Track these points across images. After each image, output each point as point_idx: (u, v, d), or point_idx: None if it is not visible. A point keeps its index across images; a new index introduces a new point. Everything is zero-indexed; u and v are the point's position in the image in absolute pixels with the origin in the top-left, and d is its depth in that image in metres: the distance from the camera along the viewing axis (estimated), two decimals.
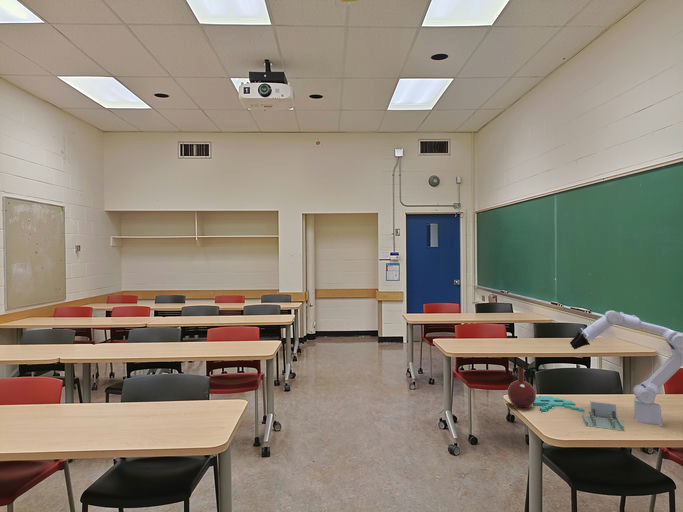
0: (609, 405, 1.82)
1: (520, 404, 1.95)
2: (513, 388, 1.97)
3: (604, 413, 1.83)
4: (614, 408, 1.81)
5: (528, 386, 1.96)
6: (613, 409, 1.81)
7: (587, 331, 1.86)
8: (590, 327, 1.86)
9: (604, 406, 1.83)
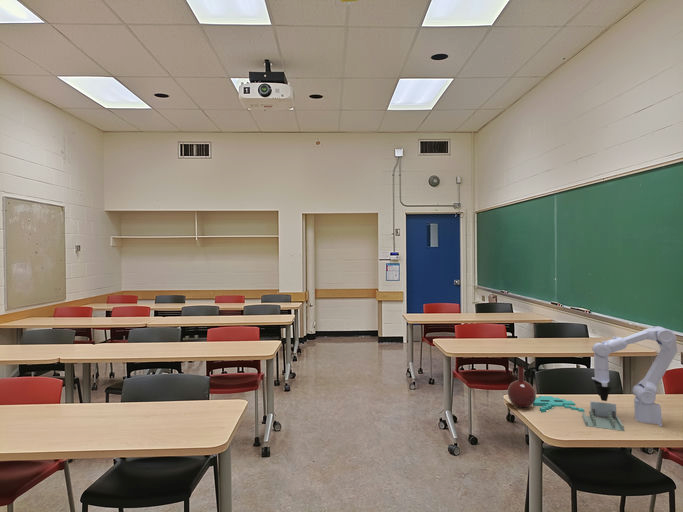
0: (609, 405, 1.82)
1: (520, 404, 1.95)
2: (513, 388, 1.97)
3: (604, 413, 1.83)
4: (614, 408, 1.81)
5: (528, 386, 1.96)
6: (613, 409, 1.81)
7: (598, 377, 1.83)
8: (596, 372, 1.84)
9: (604, 406, 1.83)
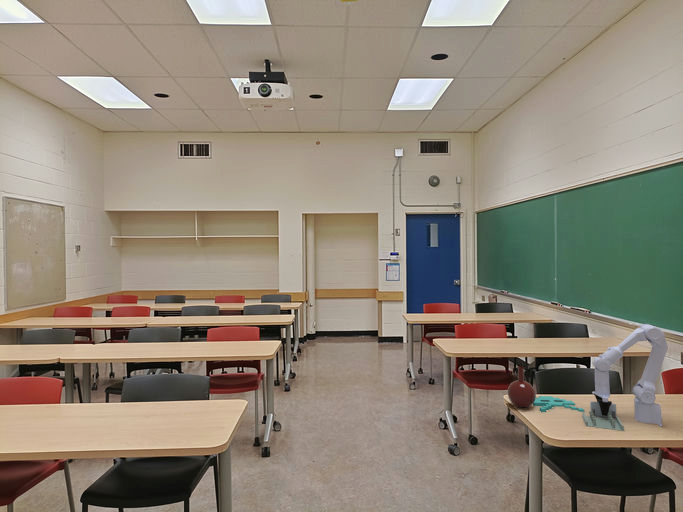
0: None
1: (520, 404, 1.95)
2: (513, 388, 1.97)
3: None
4: (614, 408, 1.81)
5: (528, 386, 1.96)
6: (613, 409, 1.81)
7: (598, 392, 1.83)
8: (597, 386, 1.84)
9: None
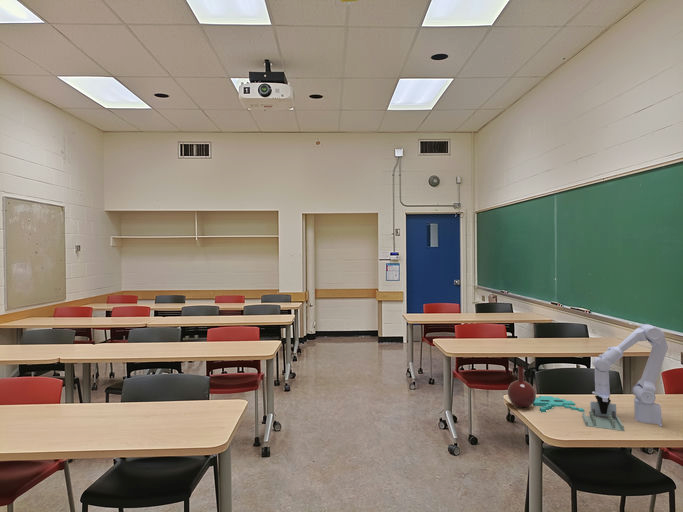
0: (609, 405, 1.82)
1: (520, 404, 1.95)
2: (513, 388, 1.97)
3: None
4: (614, 408, 1.81)
5: (528, 386, 1.96)
6: (613, 409, 1.81)
7: (598, 392, 1.83)
8: (597, 386, 1.84)
9: None
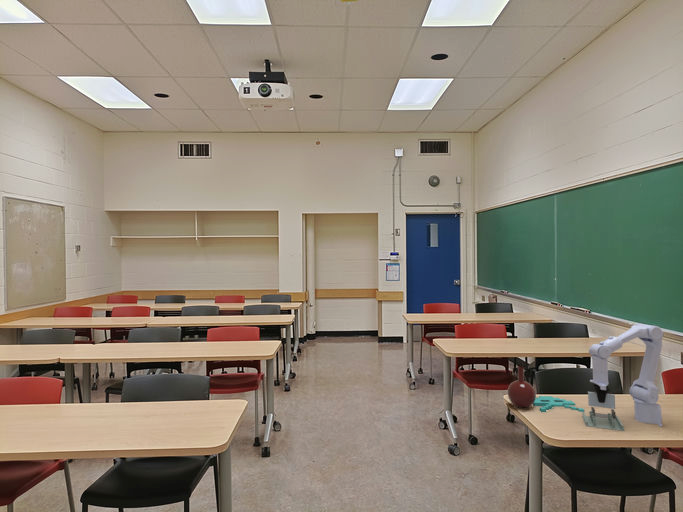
0: (608, 396, 1.74)
1: (520, 404, 1.95)
2: (513, 388, 1.97)
3: (603, 403, 1.75)
4: (613, 399, 1.74)
5: (528, 386, 1.96)
6: (612, 400, 1.74)
7: (596, 380, 1.75)
8: (594, 374, 1.76)
9: None
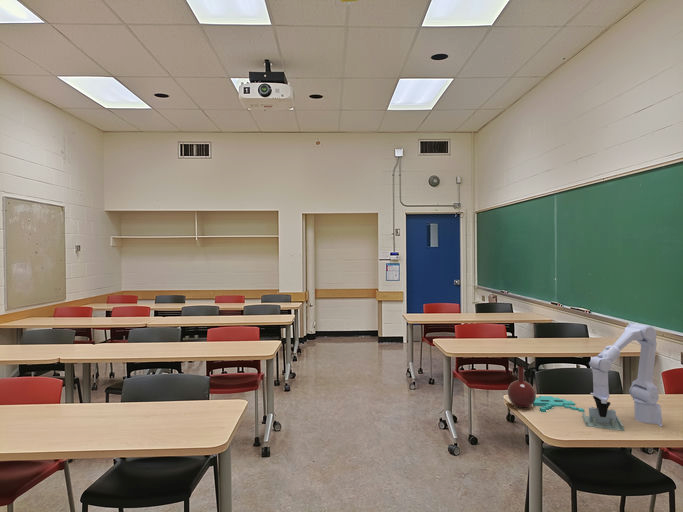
0: (608, 411, 1.73)
1: (520, 404, 1.95)
2: (513, 388, 1.97)
3: (604, 419, 1.74)
4: (614, 415, 1.73)
5: (528, 386, 1.96)
6: (613, 416, 1.73)
7: (597, 393, 1.74)
8: (595, 387, 1.75)
9: None
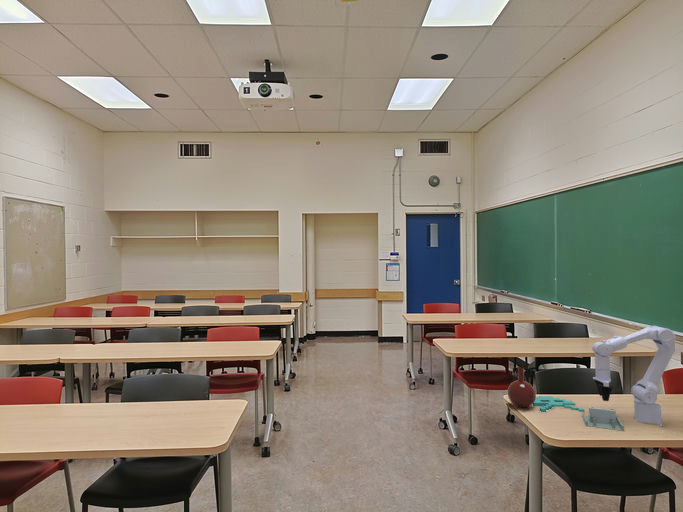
0: (608, 411, 1.73)
1: (520, 404, 1.95)
2: (513, 388, 1.97)
3: (604, 419, 1.74)
4: (614, 415, 1.73)
5: (528, 386, 1.96)
6: (613, 416, 1.73)
7: (599, 377, 1.80)
8: (597, 372, 1.81)
9: (604, 413, 1.74)
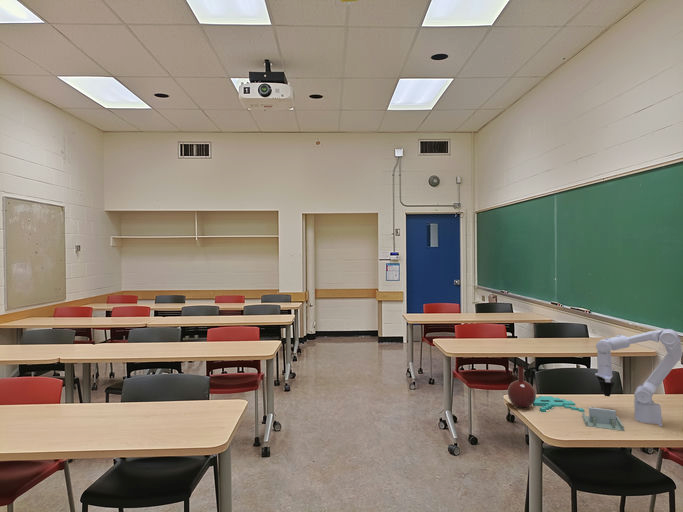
0: (608, 411, 1.73)
1: (520, 404, 1.95)
2: (513, 388, 1.97)
3: (604, 419, 1.74)
4: (614, 415, 1.73)
5: (528, 386, 1.95)
6: (613, 416, 1.73)
7: (601, 373, 1.87)
8: (599, 368, 1.88)
9: (604, 413, 1.74)
